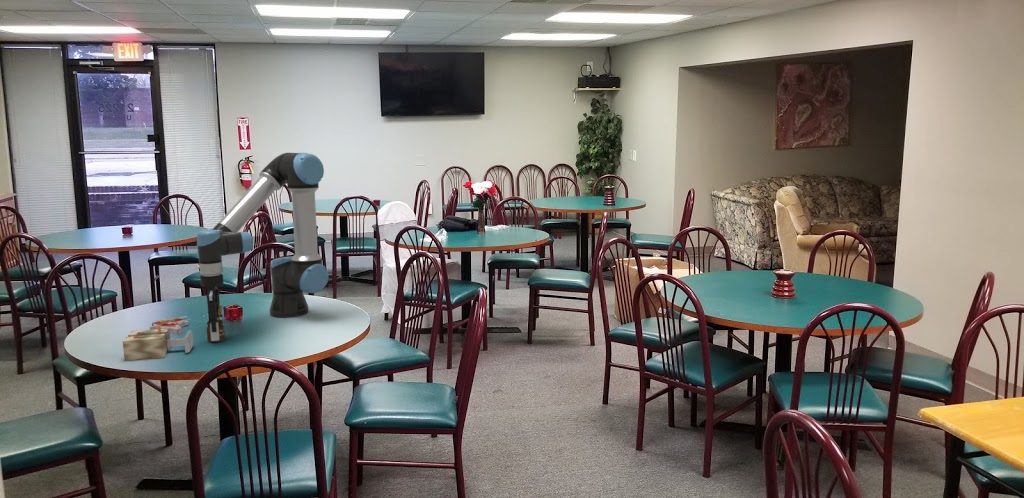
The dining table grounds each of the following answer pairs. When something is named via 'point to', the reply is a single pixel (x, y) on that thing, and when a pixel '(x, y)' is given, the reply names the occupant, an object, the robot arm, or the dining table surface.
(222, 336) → the utensil holder
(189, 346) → the grey flanged cylinder
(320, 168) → the robot arm
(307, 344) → the dining table surface
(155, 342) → the beige box
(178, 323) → the toy
